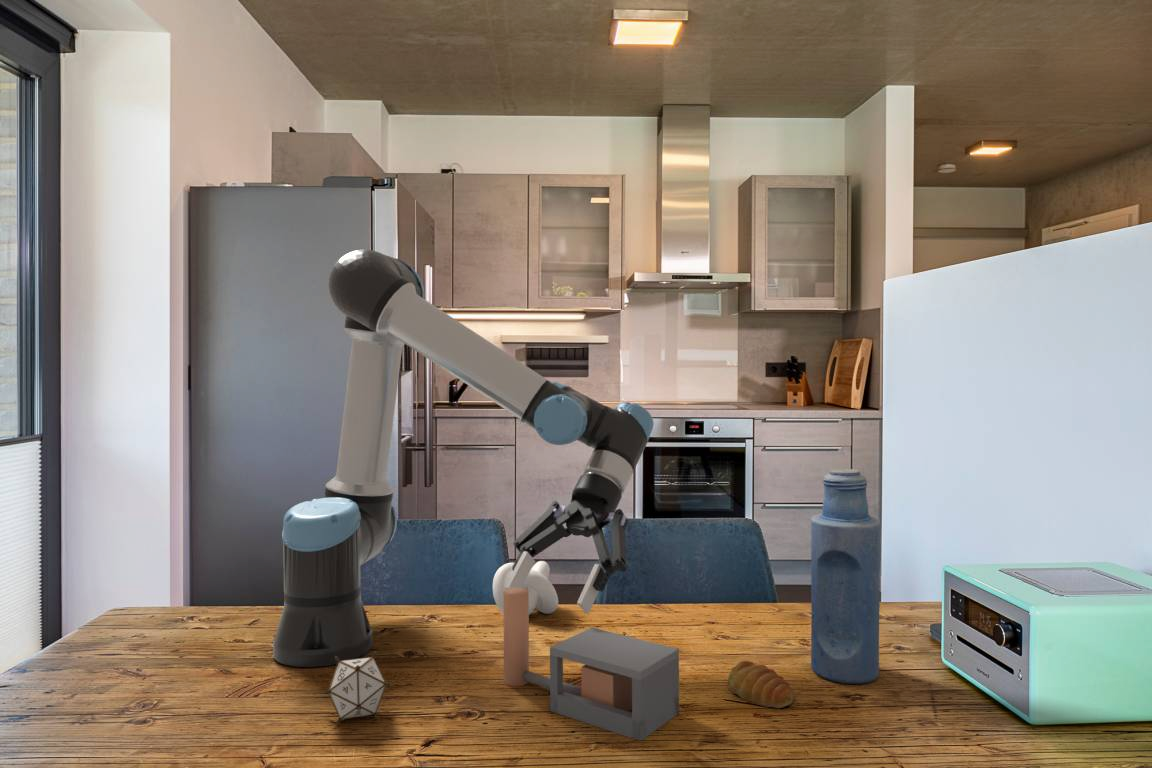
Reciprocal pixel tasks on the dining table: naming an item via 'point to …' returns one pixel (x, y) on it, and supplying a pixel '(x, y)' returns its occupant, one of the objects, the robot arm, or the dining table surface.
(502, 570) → the white knot
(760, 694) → the pastry
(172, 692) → the dining table surface
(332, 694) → the game die
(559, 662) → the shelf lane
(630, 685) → the block
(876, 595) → the bottle
